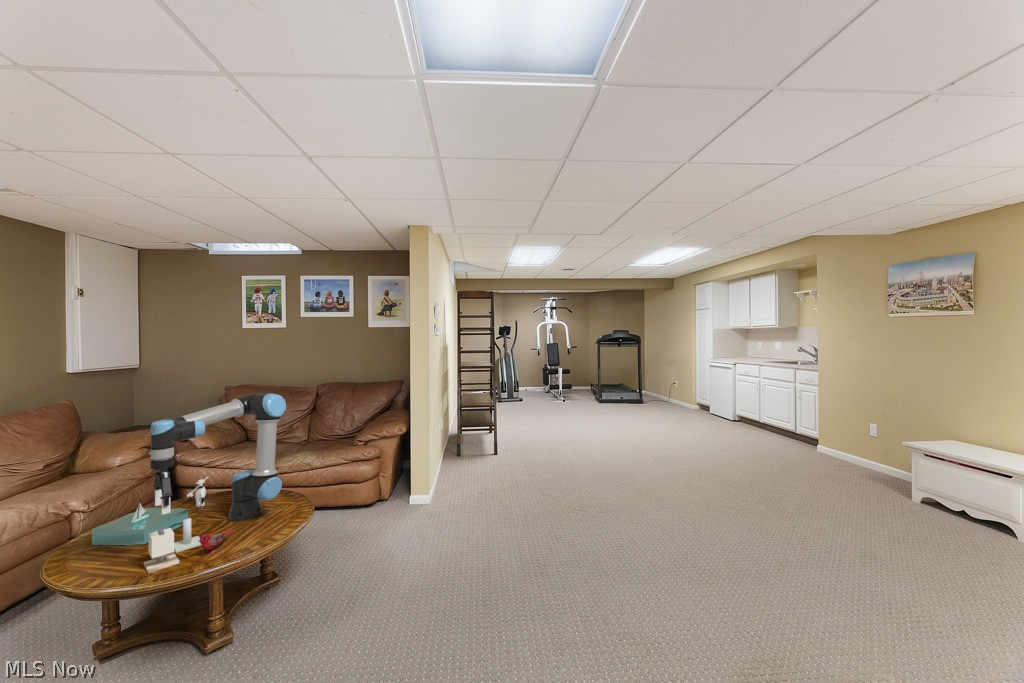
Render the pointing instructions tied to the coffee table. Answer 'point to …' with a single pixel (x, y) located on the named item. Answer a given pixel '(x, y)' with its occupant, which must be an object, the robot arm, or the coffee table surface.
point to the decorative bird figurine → (212, 540)
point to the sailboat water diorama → (137, 526)
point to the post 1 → (161, 562)
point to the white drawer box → (161, 542)
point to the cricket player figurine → (199, 493)
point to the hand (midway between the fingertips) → (162, 509)
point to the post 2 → (186, 538)
